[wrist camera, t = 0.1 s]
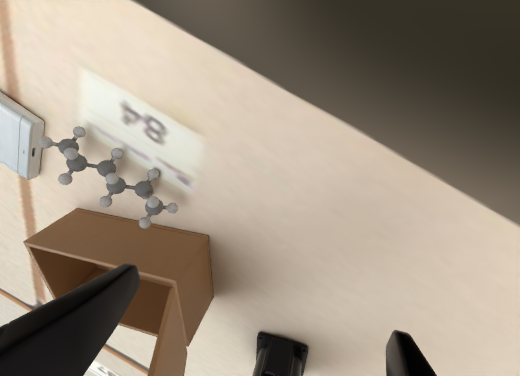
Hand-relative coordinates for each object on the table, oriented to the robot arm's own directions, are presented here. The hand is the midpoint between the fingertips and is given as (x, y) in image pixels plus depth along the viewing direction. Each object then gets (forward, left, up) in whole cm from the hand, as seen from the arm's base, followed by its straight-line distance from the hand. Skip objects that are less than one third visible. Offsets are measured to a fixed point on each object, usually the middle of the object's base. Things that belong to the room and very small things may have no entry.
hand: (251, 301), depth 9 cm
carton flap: (-16, +8, -3) cm, 18 cm away
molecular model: (-4, +17, -15) cm, 23 cm away
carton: (-16, +18, -15) cm, 28 cm away
